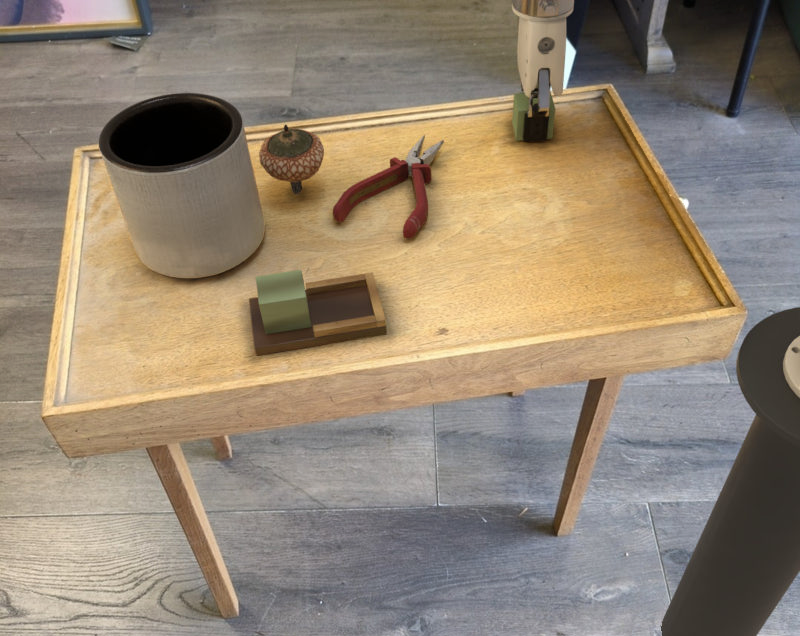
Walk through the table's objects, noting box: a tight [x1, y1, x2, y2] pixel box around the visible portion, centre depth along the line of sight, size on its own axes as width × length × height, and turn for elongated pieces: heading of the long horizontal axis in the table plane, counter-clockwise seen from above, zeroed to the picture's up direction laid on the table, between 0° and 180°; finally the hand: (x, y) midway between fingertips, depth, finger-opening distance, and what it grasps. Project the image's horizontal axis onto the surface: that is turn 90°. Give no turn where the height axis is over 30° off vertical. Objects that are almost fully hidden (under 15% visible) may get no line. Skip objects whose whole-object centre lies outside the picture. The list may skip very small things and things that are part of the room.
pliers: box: [332, 134, 445, 240], centre depth 107 cm, size 12×20×3 cm, turn 156°
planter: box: [98, 92, 266, 279], centre depth 97 cm, size 16×16×16 cm
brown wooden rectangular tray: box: [248, 269, 388, 356], centre depth 91 cm, size 8×14×6 cm, turn 101°
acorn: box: [258, 124, 325, 196], centre depth 105 cm, size 8×8×10 cm
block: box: [511, 91, 556, 142], centre depth 114 cm, size 4×5×4 cm
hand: (532, 128), depth 115 cm, fingers closed on block, 4 cm apart
